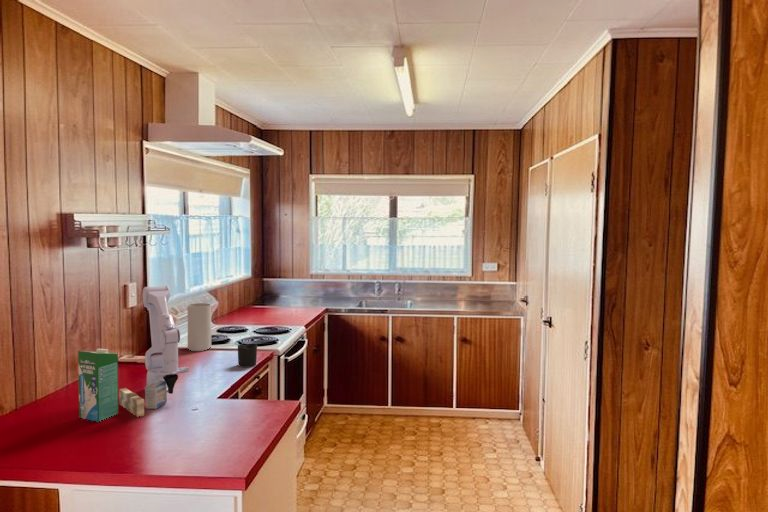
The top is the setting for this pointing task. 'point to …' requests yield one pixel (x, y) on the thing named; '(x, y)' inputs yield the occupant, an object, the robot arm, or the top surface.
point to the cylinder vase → (199, 326)
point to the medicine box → (155, 394)
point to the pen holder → (247, 354)
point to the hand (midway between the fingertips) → (170, 393)
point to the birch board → (131, 402)
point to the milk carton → (98, 384)
